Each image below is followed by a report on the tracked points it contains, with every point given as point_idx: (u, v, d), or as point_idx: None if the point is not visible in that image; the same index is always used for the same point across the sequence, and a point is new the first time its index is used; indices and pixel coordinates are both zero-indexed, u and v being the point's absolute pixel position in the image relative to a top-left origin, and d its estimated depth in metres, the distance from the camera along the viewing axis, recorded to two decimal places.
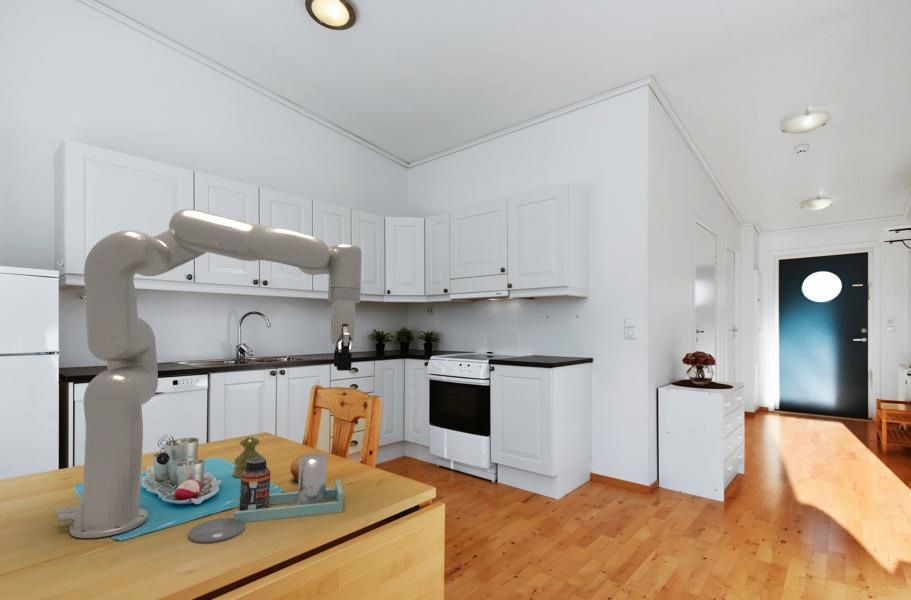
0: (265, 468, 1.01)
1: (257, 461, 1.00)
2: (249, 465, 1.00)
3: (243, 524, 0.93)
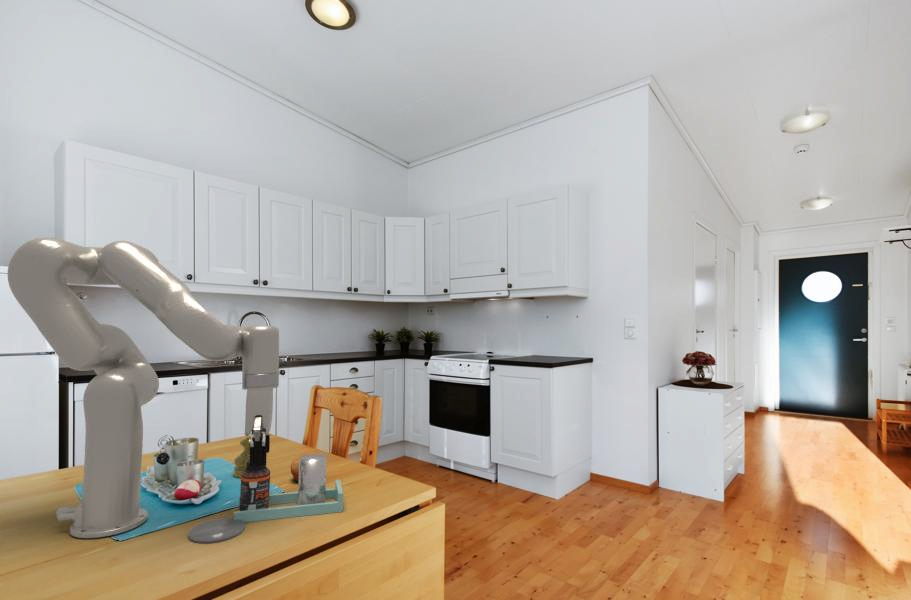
0: (265, 468, 1.01)
1: None
2: (248, 465, 1.00)
3: (243, 524, 0.93)
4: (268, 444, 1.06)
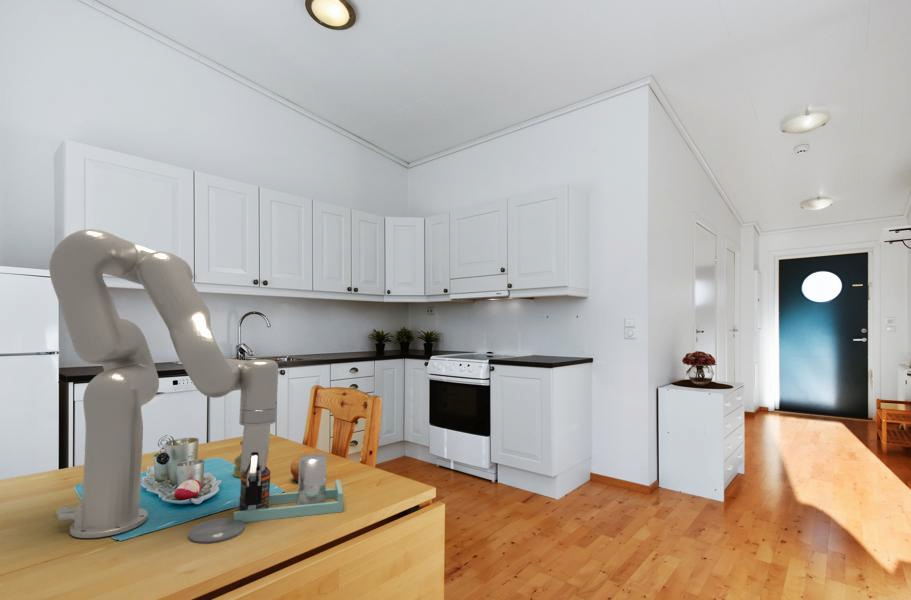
0: (265, 468, 1.01)
1: None
2: None
3: (243, 524, 0.93)
4: None
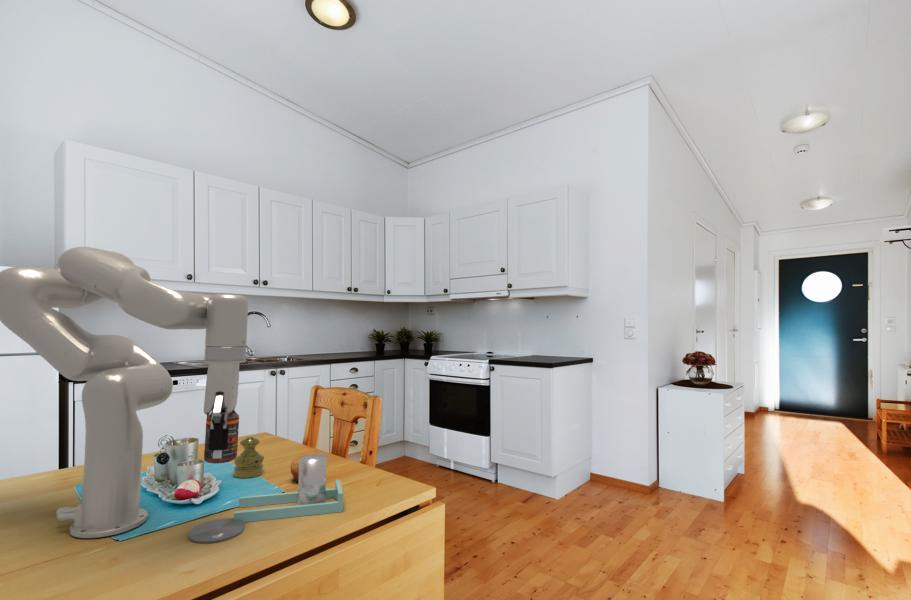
0: (233, 412, 0.93)
1: None
2: None
3: (243, 524, 0.93)
4: None
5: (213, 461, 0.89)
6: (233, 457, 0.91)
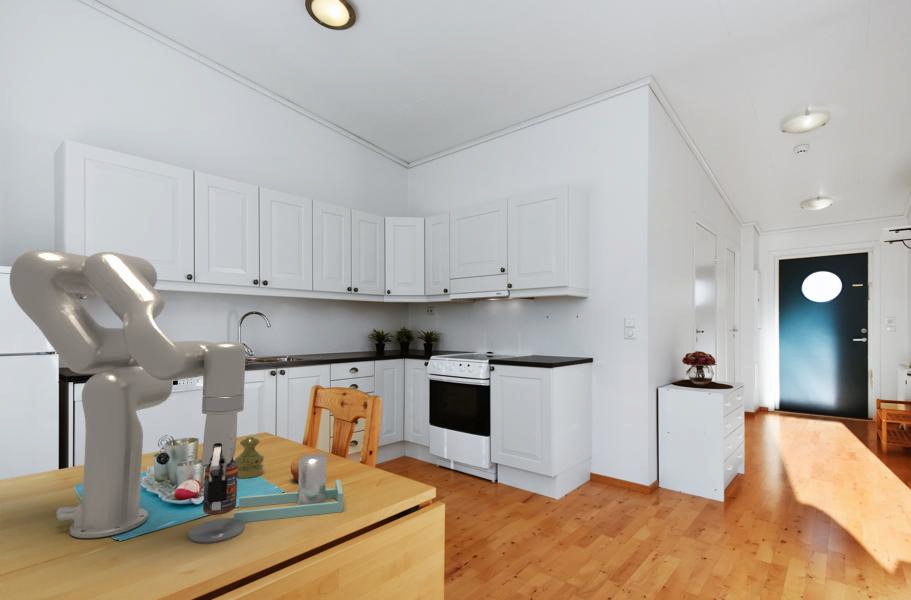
0: (232, 461, 0.92)
1: None
2: None
3: (243, 524, 0.93)
4: None
5: (212, 513, 0.89)
6: (232, 507, 0.91)
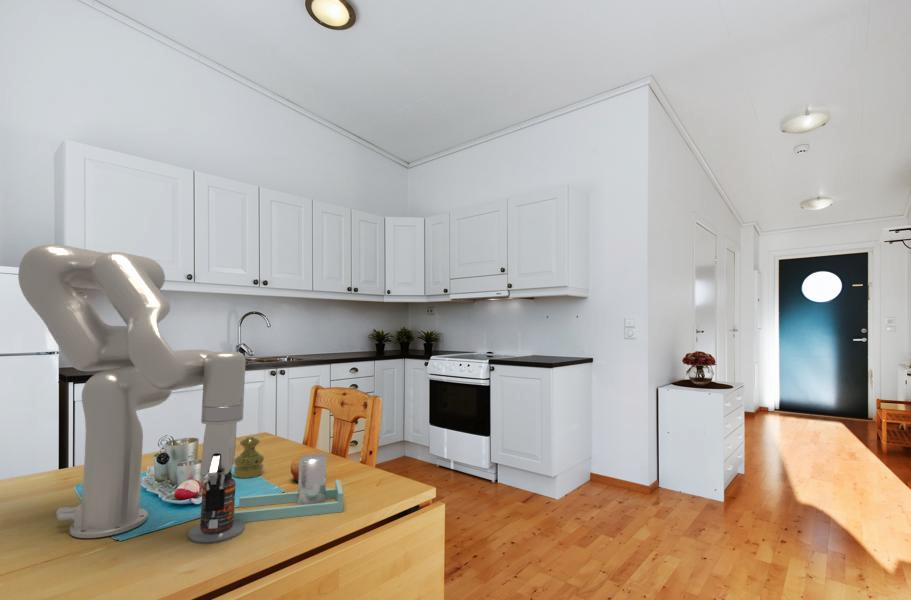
0: (229, 479, 0.92)
1: (220, 471, 0.91)
2: None
3: (243, 524, 0.93)
4: None
5: (209, 531, 0.89)
6: (229, 525, 0.91)
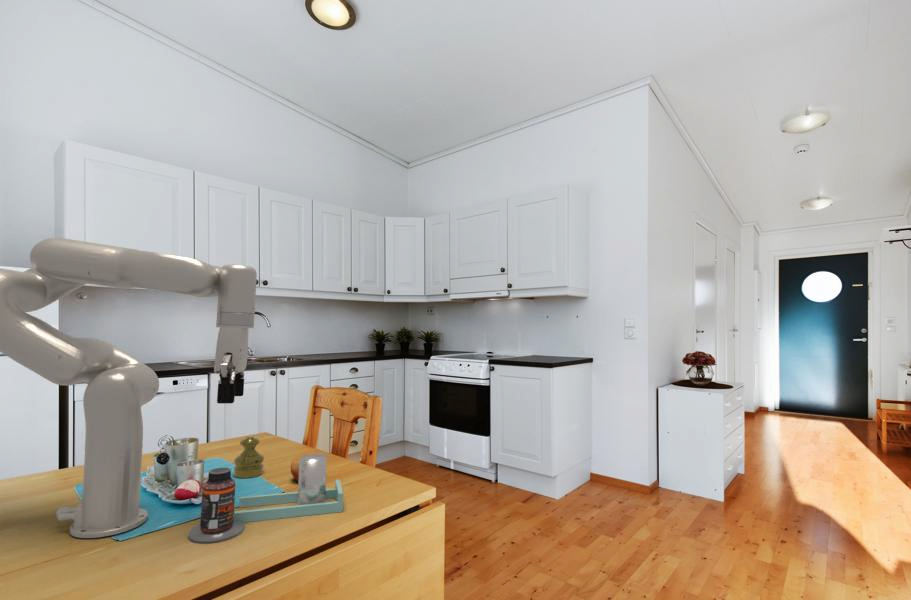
0: (229, 479, 0.92)
1: (220, 471, 0.91)
2: (210, 476, 0.90)
3: (243, 524, 0.93)
4: (242, 387, 1.05)
5: (209, 531, 0.89)
6: (229, 525, 0.91)
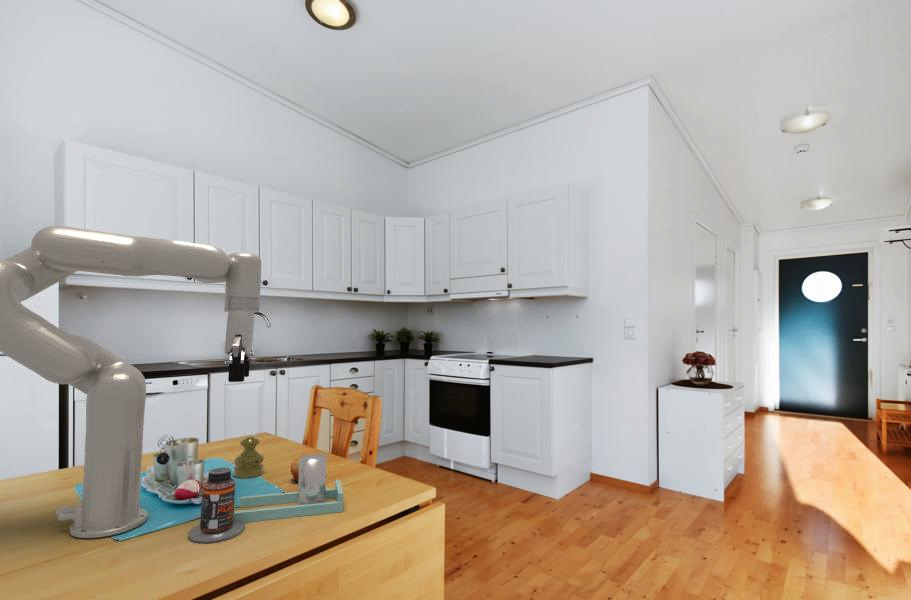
0: (229, 479, 0.92)
1: (220, 471, 0.91)
2: (210, 476, 0.90)
3: (243, 524, 0.93)
4: (248, 369, 1.12)
5: (209, 531, 0.89)
6: (229, 525, 0.91)
